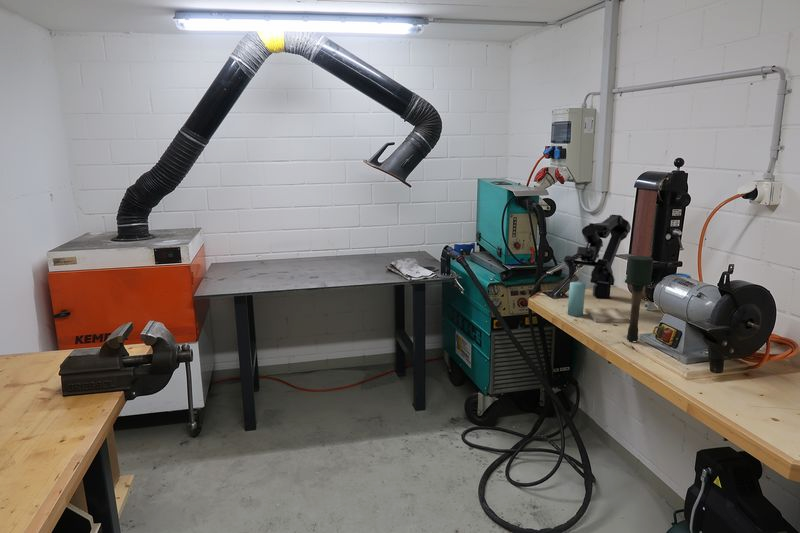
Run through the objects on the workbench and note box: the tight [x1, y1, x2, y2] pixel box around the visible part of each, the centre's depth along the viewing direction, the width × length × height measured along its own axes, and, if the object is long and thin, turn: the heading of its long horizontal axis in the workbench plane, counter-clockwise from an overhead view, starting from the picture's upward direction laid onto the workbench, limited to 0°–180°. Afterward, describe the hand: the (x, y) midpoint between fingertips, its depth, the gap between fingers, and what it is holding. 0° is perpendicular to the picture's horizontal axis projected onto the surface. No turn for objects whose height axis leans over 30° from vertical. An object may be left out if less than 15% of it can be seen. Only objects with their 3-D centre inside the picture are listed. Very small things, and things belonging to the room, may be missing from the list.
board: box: [584, 308, 630, 323], centre depth 214 cm, size 13×13×2 cm
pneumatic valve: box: [641, 298, 658, 312], centre depth 222 cm, size 6×12×12 cm, turn 105°
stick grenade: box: [624, 255, 654, 342], centre depth 185 cm, size 8×9×30 cm
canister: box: [567, 281, 586, 318], centre depth 216 cm, size 6×6×13 cm
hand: (580, 280), depth 222 cm, fingers open, 9 cm apart
